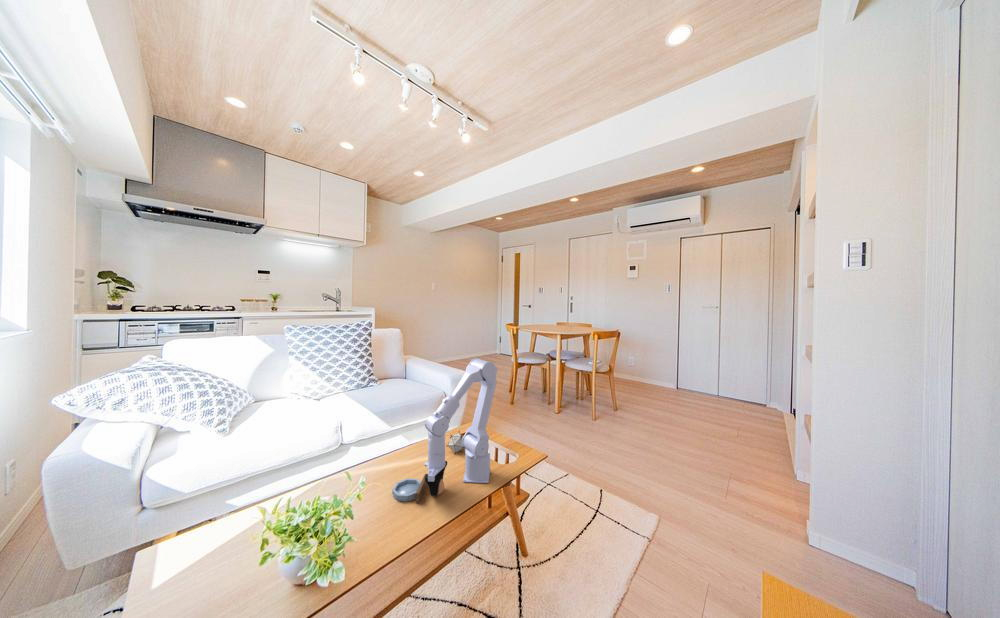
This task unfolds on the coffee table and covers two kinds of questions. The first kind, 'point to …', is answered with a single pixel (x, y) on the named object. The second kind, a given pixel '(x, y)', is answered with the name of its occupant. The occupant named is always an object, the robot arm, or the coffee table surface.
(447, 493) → the coffee table surface
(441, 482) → the ball
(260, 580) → the coffee table surface
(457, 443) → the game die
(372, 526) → the coffee table surface
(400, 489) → the dish
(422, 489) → the wooden block
